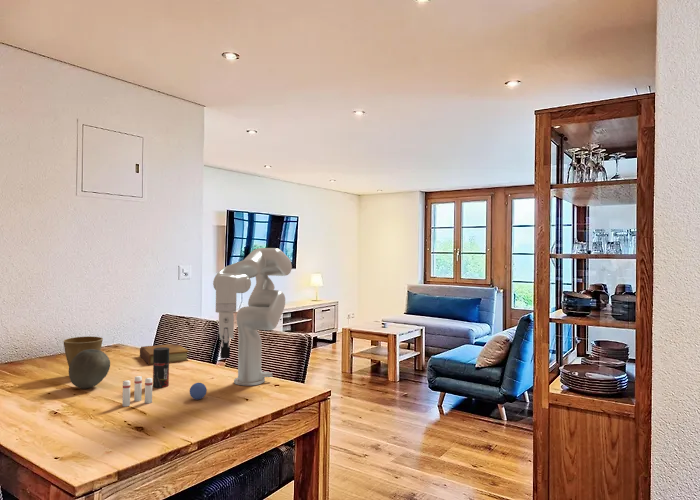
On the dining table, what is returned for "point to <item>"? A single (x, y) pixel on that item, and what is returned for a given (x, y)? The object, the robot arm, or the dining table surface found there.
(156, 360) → the deodorant
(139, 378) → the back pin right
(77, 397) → the dining table surface
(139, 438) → the dining table surface
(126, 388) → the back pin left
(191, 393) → the ball
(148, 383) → the front pin
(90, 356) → the grey rock
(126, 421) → the dining table surface
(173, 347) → the diary
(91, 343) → the plant pot
